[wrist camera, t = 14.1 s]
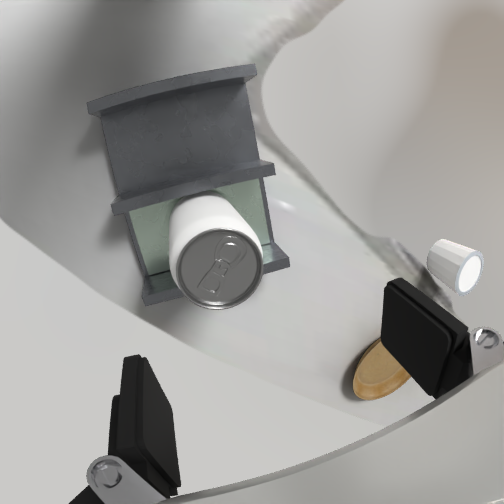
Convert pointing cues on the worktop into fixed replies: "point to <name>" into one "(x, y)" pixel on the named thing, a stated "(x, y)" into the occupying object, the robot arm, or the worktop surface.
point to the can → (213, 252)
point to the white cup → (455, 265)
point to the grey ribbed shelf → (184, 162)
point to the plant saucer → (378, 373)
